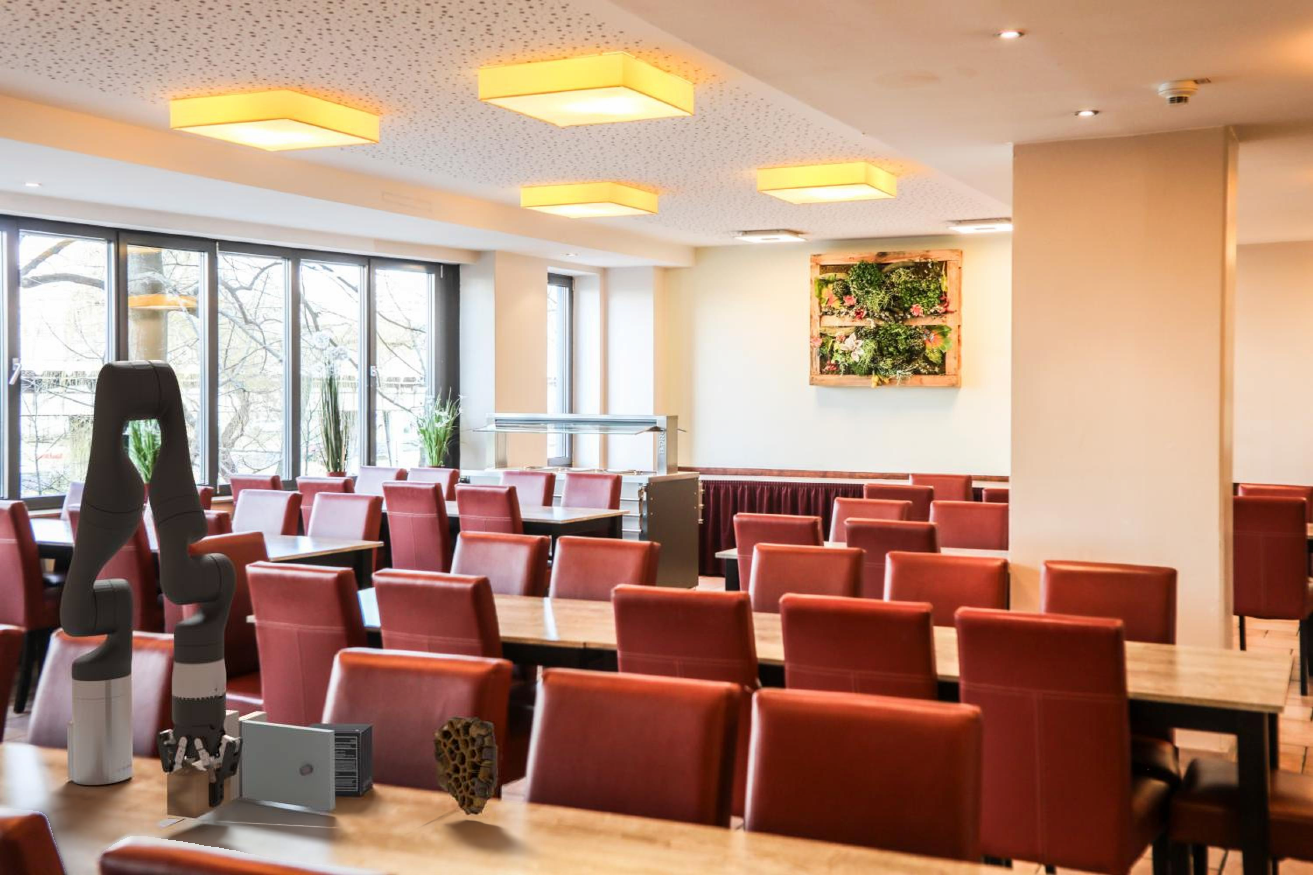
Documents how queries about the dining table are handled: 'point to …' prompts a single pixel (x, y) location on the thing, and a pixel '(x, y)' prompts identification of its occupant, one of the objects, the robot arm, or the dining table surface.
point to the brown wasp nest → (467, 761)
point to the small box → (351, 757)
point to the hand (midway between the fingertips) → (199, 802)
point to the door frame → (233, 731)
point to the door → (287, 764)
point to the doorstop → (192, 791)
